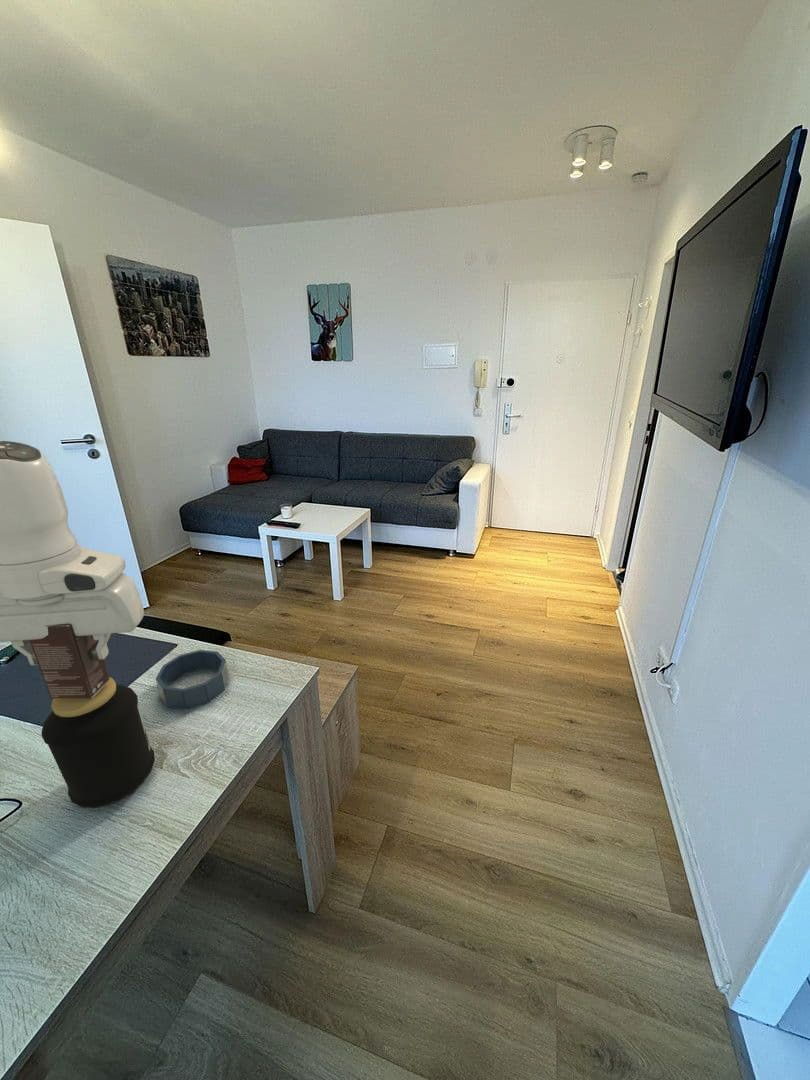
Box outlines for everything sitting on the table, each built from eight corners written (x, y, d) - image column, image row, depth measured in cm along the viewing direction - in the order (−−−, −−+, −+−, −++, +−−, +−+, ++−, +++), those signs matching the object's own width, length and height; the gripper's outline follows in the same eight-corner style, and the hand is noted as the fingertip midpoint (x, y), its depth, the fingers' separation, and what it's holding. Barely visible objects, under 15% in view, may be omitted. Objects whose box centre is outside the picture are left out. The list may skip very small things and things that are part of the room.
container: (65, 776, 70) (30, 688, 63) (148, 738, 77) (125, 655, 70) (73, 834, 61) (33, 739, 55) (165, 785, 69) (140, 696, 62)
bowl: (151, 713, 83) (146, 694, 81) (173, 669, 95) (169, 652, 93) (219, 705, 85) (216, 687, 83) (232, 663, 97) (230, 647, 95)
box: (111, 678, 65) (90, 608, 60) (91, 700, 60) (67, 627, 56) (70, 678, 64) (46, 608, 60) (48, 700, 60) (20, 626, 56)
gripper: (-74, 588, 51) (-31, 682, 56) (116, 577, 54) (140, 667, 59) (-34, 565, 56) (2, 652, 62) (136, 556, 60) (156, 640, 65)
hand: (71, 659), depth 60 cm, fingers closed on box, 6 cm apart
